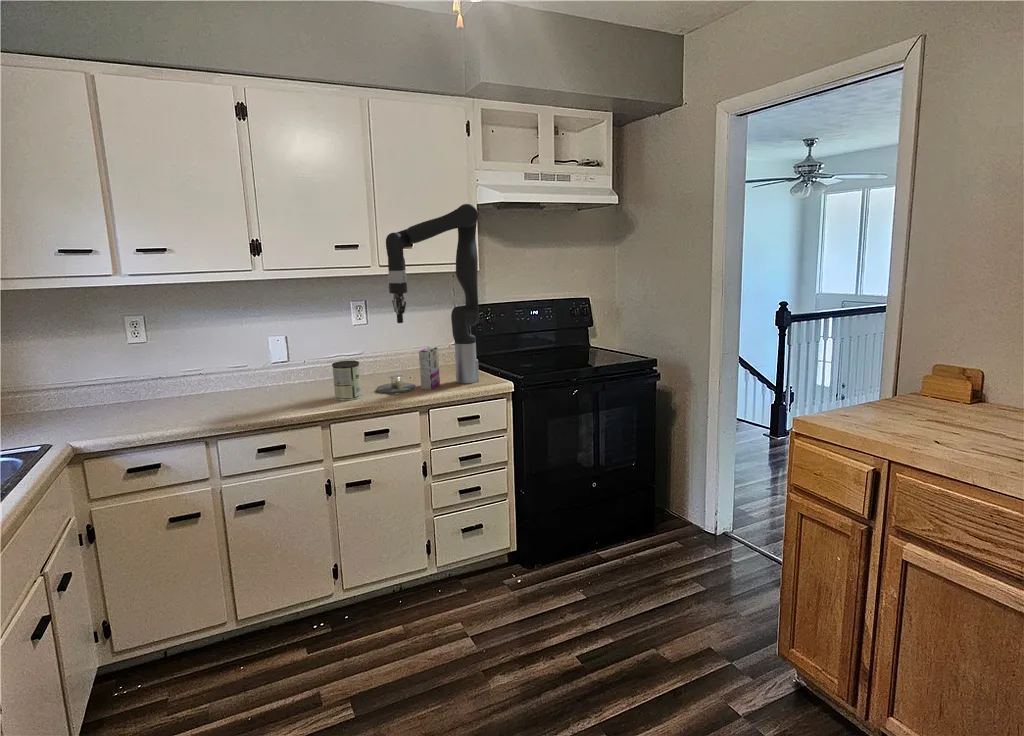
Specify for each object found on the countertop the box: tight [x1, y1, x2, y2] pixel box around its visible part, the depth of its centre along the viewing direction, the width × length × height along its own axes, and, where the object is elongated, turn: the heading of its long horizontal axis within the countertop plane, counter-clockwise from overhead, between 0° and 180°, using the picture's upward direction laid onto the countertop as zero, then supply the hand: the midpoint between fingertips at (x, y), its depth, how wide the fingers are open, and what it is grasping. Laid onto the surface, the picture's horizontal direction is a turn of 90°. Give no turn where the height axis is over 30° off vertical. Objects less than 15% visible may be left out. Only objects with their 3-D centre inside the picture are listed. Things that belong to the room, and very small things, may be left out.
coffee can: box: [331, 360, 362, 402], centre depth 234 cm, size 10×10×14 cm
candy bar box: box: [418, 346, 441, 391], centre depth 249 cm, size 11×5×16 cm, turn 168°
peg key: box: [388, 373, 404, 389], centre depth 243 cm, size 12×5×5 cm, turn 23°
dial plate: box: [376, 382, 416, 395], centre depth 247 cm, size 16×16×1 cm
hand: (400, 322), depth 249 cm, fingers closed
